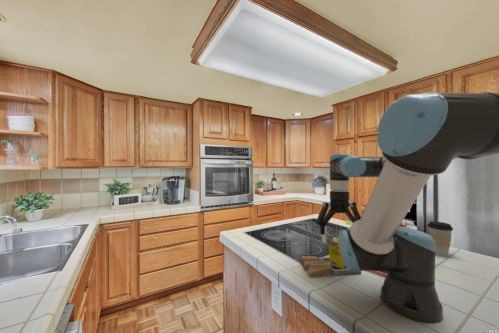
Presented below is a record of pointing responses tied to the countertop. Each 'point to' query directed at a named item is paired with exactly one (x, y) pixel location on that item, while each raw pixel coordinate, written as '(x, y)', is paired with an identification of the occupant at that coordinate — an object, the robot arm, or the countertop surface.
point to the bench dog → (319, 268)
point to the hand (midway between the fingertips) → (339, 241)
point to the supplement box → (335, 255)
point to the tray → (340, 271)
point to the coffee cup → (441, 237)
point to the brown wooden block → (308, 260)
